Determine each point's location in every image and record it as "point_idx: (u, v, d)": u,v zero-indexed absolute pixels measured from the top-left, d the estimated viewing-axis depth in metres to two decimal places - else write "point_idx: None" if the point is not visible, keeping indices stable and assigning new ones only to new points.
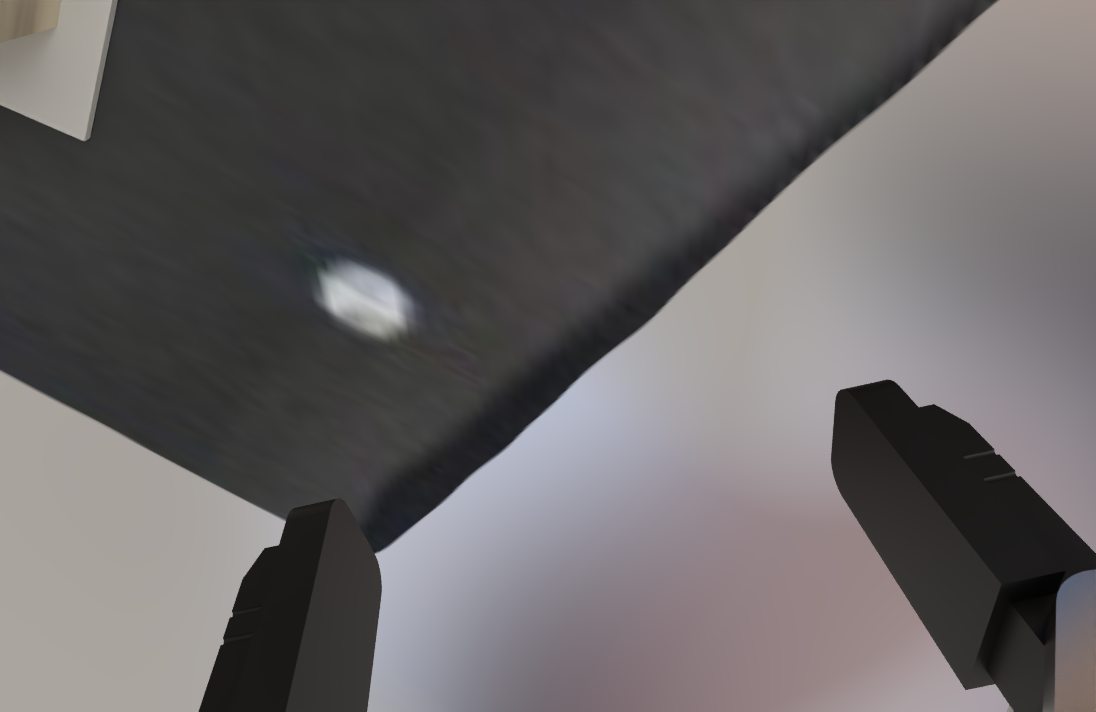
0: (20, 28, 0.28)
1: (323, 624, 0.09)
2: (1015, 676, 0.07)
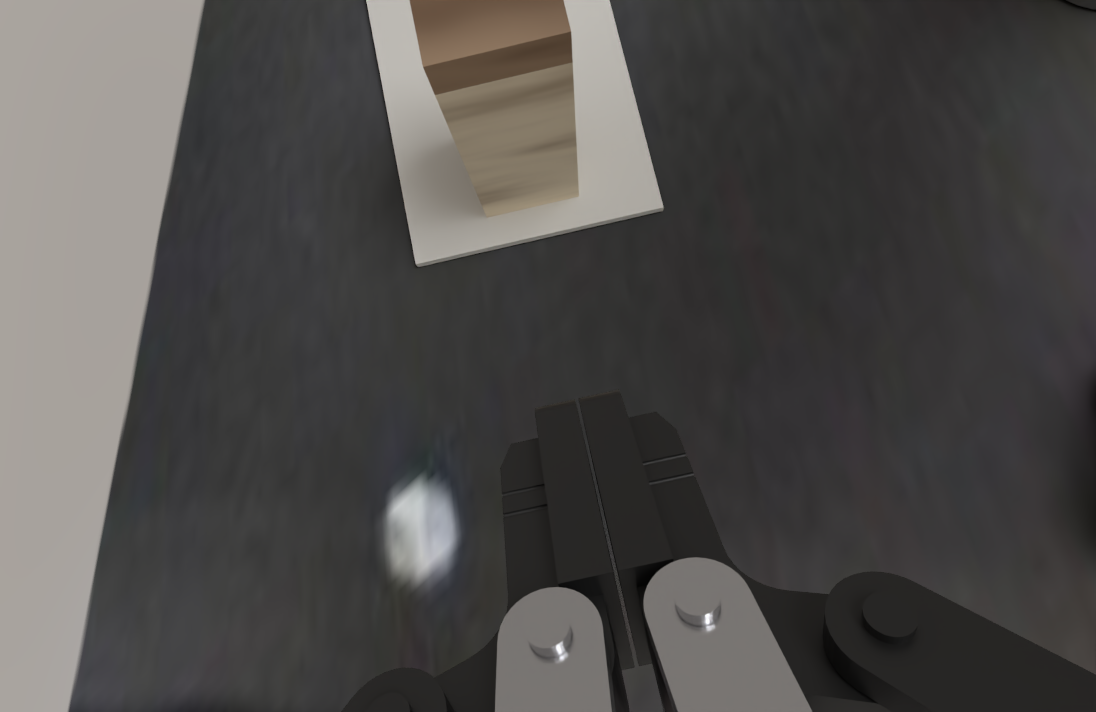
0: (484, 196, 0.38)
1: None
2: (650, 652, 0.08)
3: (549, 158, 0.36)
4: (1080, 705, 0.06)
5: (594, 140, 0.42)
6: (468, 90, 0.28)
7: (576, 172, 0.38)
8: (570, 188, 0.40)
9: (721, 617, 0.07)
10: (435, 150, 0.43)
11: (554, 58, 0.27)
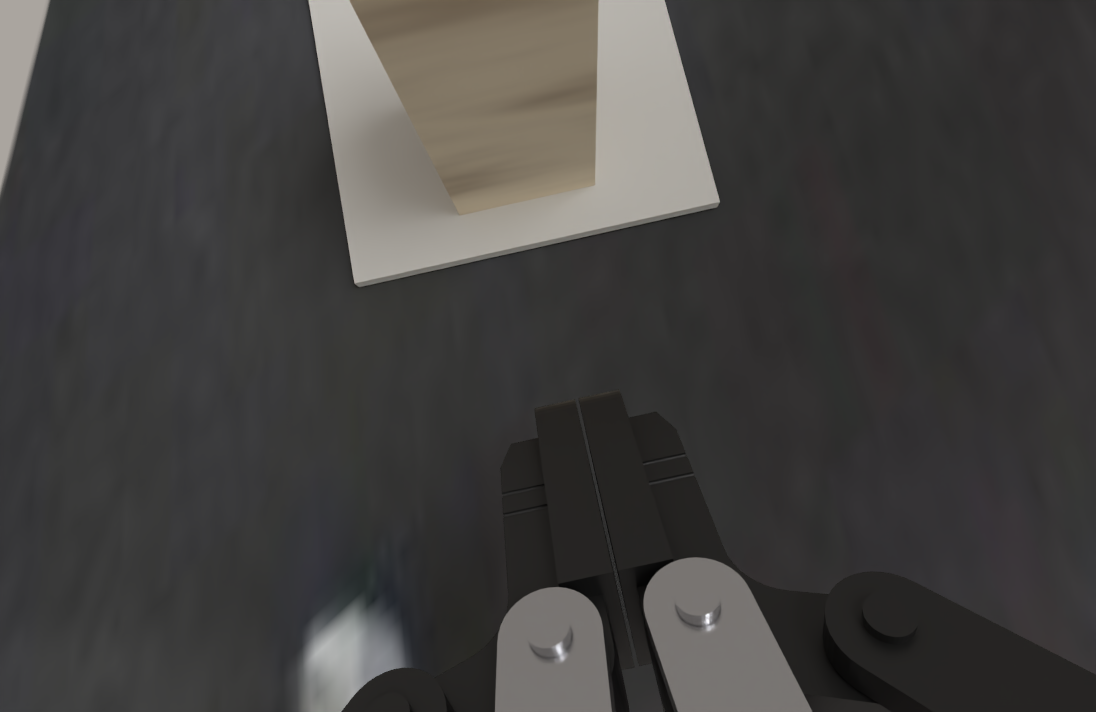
0: (453, 182, 0.25)
1: None
2: (651, 652, 0.08)
3: (552, 120, 0.22)
4: (1080, 705, 0.06)
5: (617, 104, 0.29)
6: None
7: (593, 146, 0.25)
8: (583, 171, 0.27)
9: (721, 617, 0.07)
10: (387, 117, 0.29)
11: None
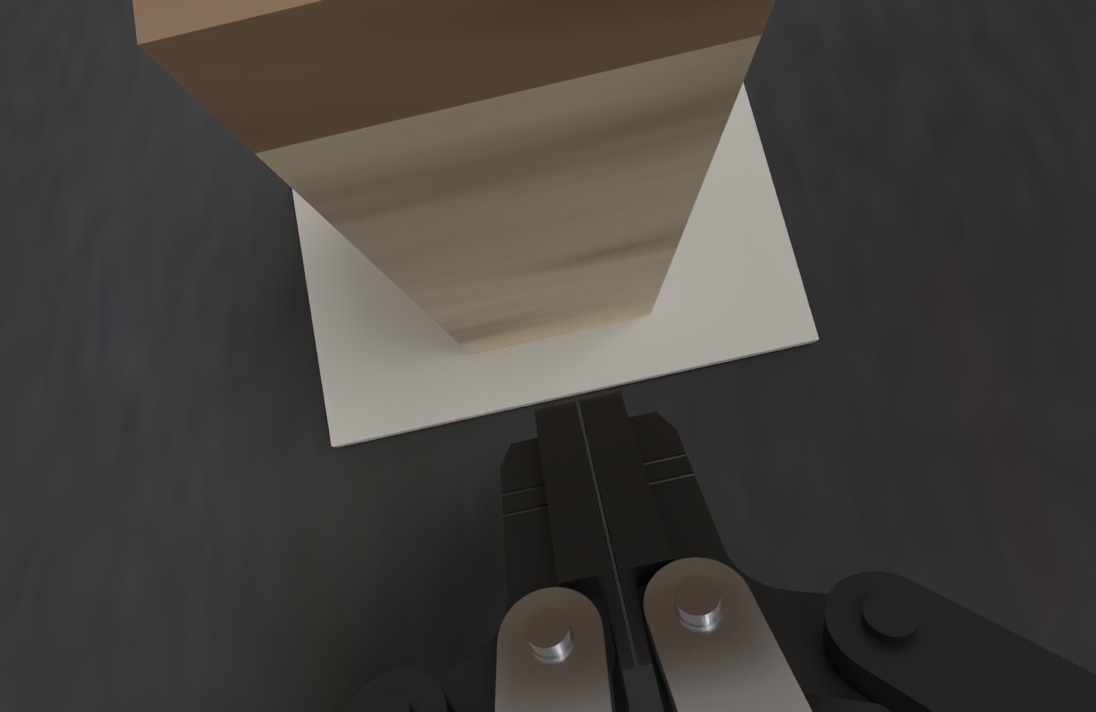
0: (464, 333, 0.18)
1: None
2: (650, 652, 0.08)
3: (610, 270, 0.15)
4: (1080, 705, 0.06)
5: None
6: (378, 134, 0.08)
7: (659, 286, 0.18)
8: (639, 306, 0.20)
9: (721, 617, 0.07)
10: None
11: (706, 16, 0.07)
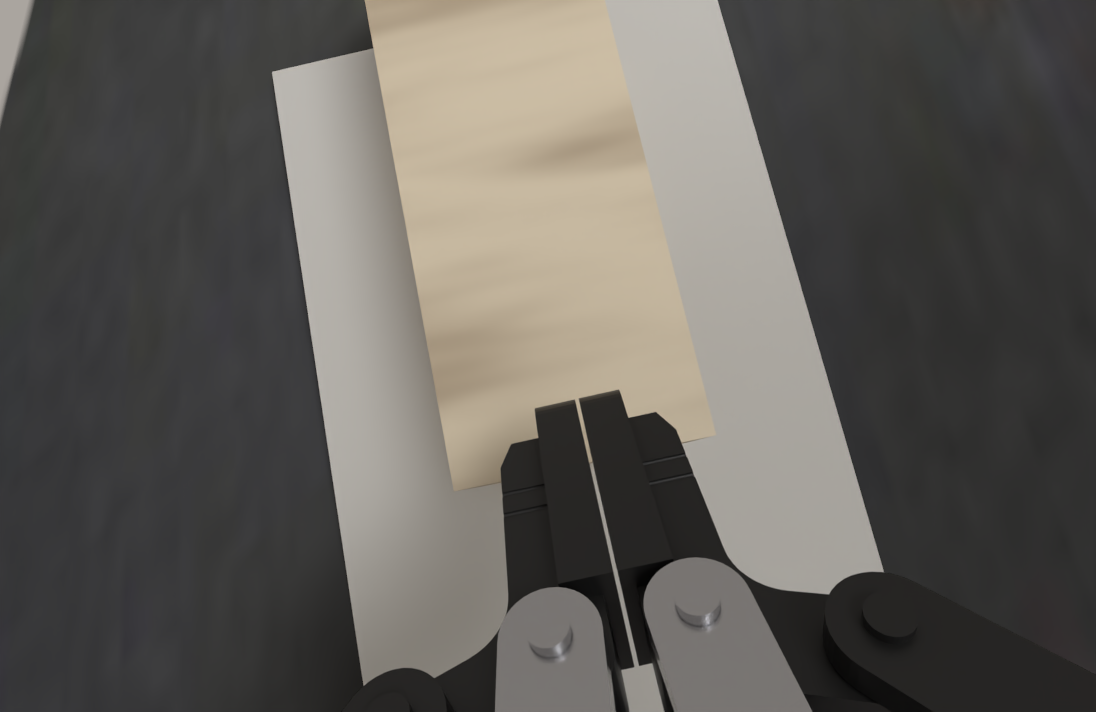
0: (445, 354, 0.15)
1: None
2: (650, 652, 0.08)
3: (590, 202, 0.16)
4: (1080, 705, 0.06)
5: (758, 516, 0.20)
6: None
7: (674, 287, 0.15)
8: (678, 372, 0.15)
9: (721, 617, 0.07)
10: (424, 524, 0.21)
11: None
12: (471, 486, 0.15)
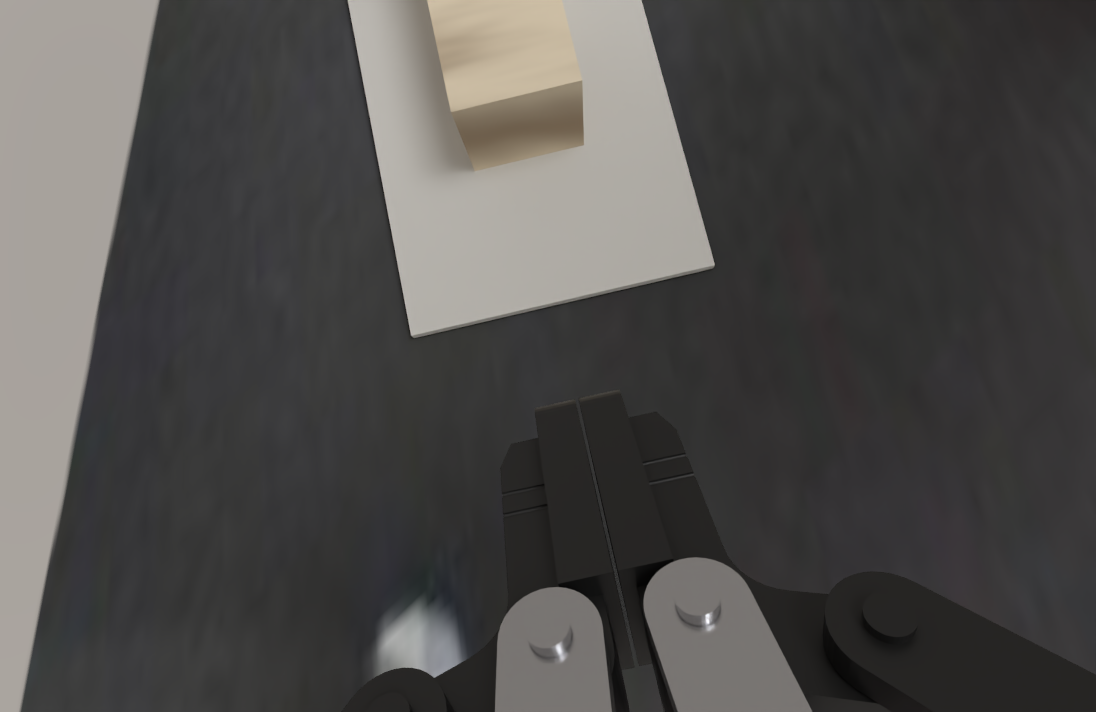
0: (446, 48, 0.30)
1: None
2: (651, 652, 0.08)
3: None
4: (1079, 705, 0.06)
5: (628, 182, 0.34)
6: None
7: (563, 11, 0.30)
8: (564, 51, 0.29)
9: (721, 617, 0.07)
10: (434, 194, 0.35)
11: None
12: (459, 109, 0.29)
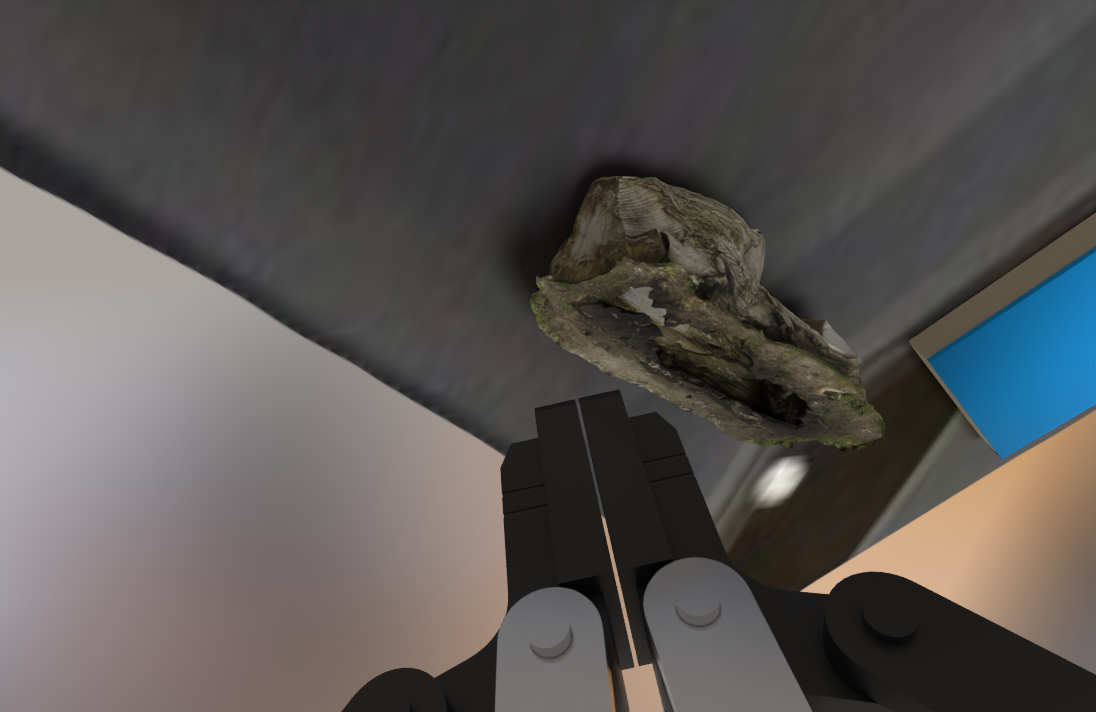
0: None
1: None
2: (650, 652, 0.08)
3: None
4: (1079, 705, 0.06)
5: None
6: None
7: None
8: None
9: (721, 617, 0.07)
10: None
11: None
12: None
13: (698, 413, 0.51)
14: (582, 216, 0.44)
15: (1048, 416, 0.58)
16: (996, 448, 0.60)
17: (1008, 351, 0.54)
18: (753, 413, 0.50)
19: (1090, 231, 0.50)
